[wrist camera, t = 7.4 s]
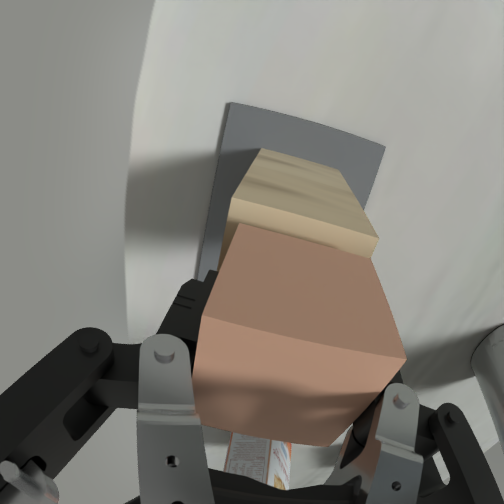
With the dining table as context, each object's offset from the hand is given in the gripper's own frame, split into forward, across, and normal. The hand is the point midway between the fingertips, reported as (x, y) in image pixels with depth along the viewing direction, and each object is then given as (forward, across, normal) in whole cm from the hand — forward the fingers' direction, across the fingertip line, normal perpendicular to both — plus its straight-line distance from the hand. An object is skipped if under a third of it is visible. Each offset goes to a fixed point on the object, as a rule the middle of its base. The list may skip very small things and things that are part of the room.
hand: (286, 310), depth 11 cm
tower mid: (+8, 0, 0) cm, 8 cm away
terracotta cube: (+1, 0, 0) cm, 1 cm away
